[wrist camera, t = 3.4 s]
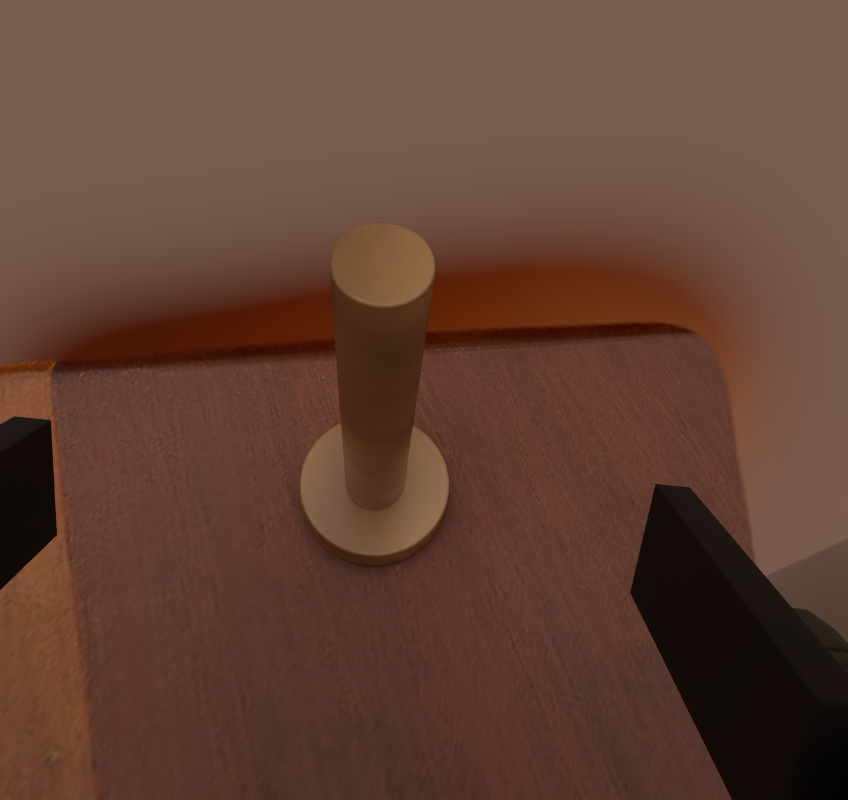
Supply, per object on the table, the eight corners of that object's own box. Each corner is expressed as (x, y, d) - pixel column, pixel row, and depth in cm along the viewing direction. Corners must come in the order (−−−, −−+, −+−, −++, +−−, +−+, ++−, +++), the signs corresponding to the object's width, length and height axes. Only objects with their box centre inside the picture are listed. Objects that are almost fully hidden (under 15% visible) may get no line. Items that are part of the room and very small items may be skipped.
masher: (450, 437, 29) (519, 178, 16) (440, 573, 26) (512, 396, 13) (314, 422, 29) (273, 149, 16) (290, 558, 26) (217, 363, 13)
